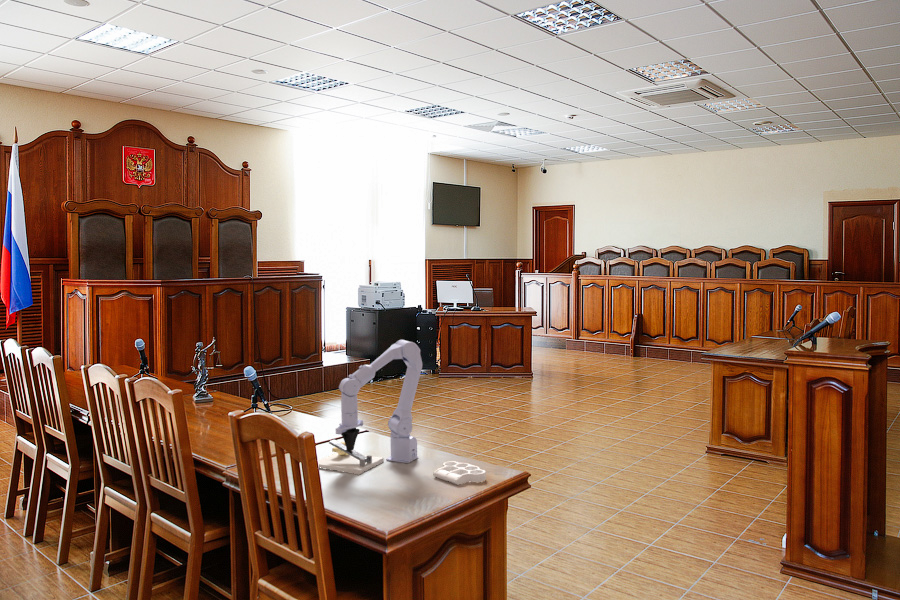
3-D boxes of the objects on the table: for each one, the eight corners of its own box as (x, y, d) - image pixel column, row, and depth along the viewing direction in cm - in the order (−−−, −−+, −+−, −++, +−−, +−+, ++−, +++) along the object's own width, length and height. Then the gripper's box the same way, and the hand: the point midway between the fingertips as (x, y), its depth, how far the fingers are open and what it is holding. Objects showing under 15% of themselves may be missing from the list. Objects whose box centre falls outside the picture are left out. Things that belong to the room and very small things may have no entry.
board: (383, 461, 241) (383, 451, 241) (359, 474, 226) (359, 462, 226) (338, 455, 249) (338, 445, 249) (312, 467, 235) (312, 456, 235)
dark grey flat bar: (369, 461, 234) (370, 458, 234) (364, 464, 231) (365, 460, 231) (333, 441, 240) (334, 438, 240) (328, 443, 238) (329, 440, 237)
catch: (350, 453, 246) (350, 442, 246) (340, 458, 240) (340, 447, 240) (342, 452, 247) (342, 441, 247) (332, 457, 241) (332, 446, 241)
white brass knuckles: (427, 477, 224) (458, 467, 234) (463, 489, 211) (494, 479, 221) (426, 467, 224) (458, 458, 234) (463, 479, 211) (494, 469, 221)
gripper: (351, 407, 243) (352, 443, 244) (328, 415, 230) (328, 453, 231) (367, 408, 240) (368, 445, 241) (344, 417, 227) (345, 455, 228)
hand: (350, 449), depth 235 cm, fingers closed, pressing on dark grey flat bar
